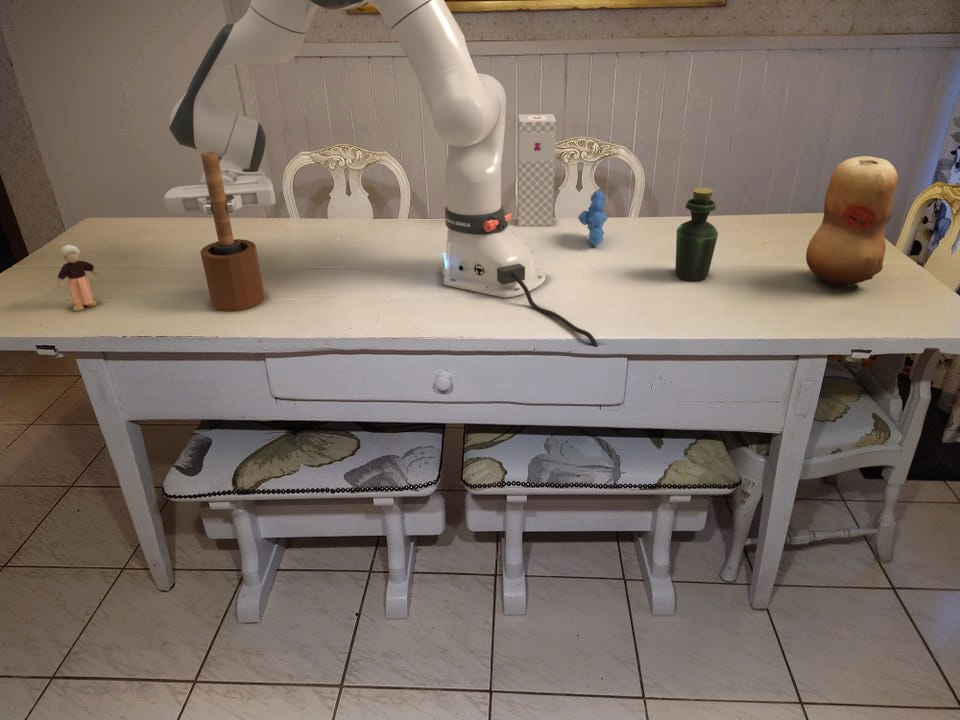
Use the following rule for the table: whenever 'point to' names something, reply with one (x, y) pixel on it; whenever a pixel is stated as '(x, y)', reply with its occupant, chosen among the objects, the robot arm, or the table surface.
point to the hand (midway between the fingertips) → (219, 209)
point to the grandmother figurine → (77, 277)
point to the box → (536, 169)
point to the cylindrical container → (233, 277)
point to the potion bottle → (696, 238)
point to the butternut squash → (854, 222)
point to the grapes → (595, 218)
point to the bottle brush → (219, 206)
